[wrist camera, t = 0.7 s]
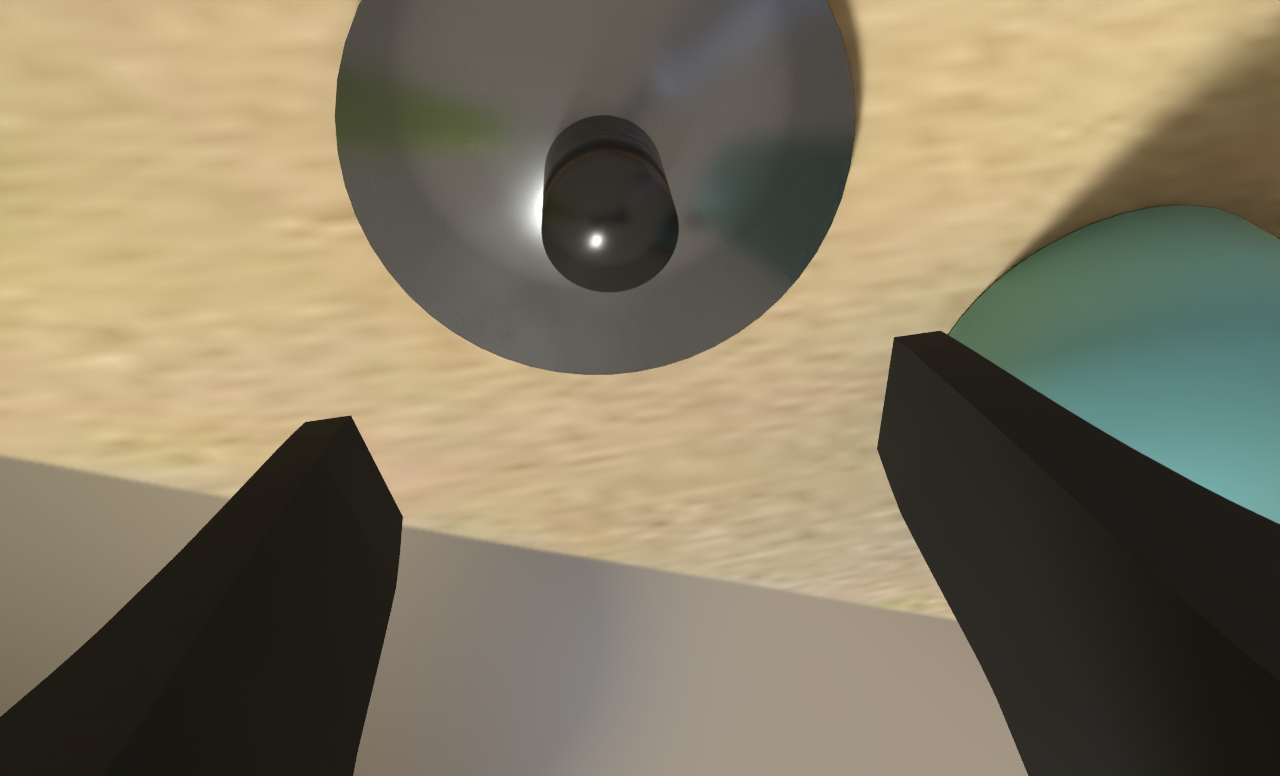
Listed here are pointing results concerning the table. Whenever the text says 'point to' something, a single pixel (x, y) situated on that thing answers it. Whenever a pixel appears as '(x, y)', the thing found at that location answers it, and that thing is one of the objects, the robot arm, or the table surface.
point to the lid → (595, 166)
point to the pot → (1154, 340)
